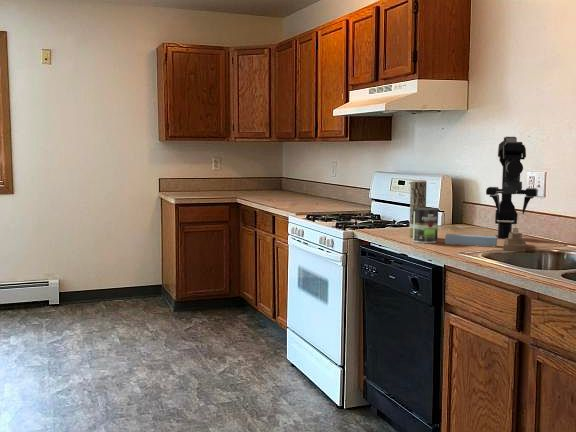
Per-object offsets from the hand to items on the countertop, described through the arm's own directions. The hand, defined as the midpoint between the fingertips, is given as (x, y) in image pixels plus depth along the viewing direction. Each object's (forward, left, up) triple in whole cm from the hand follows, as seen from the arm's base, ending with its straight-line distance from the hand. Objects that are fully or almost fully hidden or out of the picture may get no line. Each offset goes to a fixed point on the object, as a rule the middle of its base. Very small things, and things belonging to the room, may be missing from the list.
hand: (510, 213), depth 250 cm
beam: (-6, -14, -14) cm, 21 cm away
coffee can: (-12, -32, -14) cm, 37 cm away
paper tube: (-24, -34, -14) cm, 44 cm away
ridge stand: (-1, +2, -14) cm, 14 cm away
